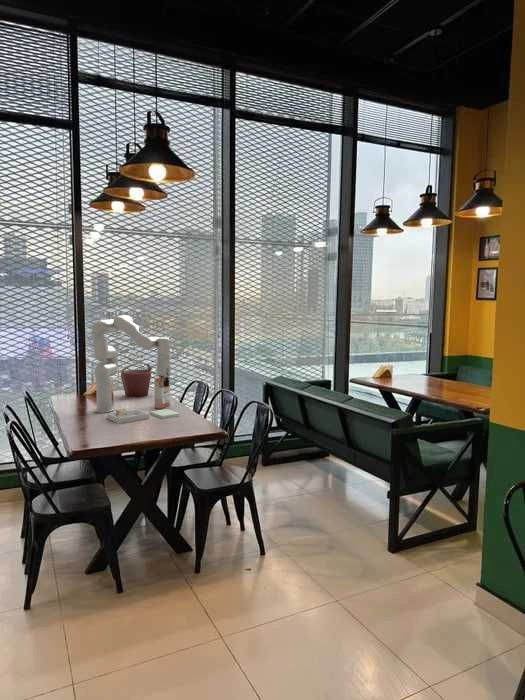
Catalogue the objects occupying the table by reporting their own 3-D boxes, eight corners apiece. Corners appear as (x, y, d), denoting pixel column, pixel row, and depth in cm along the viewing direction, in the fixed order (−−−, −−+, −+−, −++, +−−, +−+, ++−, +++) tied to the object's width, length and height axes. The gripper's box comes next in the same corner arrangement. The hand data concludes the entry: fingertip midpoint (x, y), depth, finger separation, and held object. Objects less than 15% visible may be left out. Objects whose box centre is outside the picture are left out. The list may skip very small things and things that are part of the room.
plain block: (115, 419, 302) (115, 409, 302) (123, 418, 306) (123, 408, 305) (119, 420, 299) (119, 411, 298) (127, 419, 302) (126, 409, 301)
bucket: (151, 392, 393) (150, 360, 390) (156, 397, 373) (156, 364, 370) (119, 394, 383) (118, 362, 380) (123, 399, 363) (122, 365, 360)
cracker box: (162, 409, 333) (162, 378, 331) (154, 408, 334) (153, 377, 332) (170, 404, 346) (170, 375, 344) (162, 404, 348) (162, 374, 345)
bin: (107, 419, 305) (107, 413, 305) (138, 414, 317) (138, 409, 317) (118, 424, 293) (118, 418, 292) (149, 419, 305) (149, 413, 305)
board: (150, 414, 317) (150, 411, 317) (167, 411, 325) (167, 408, 324) (162, 419, 305) (162, 416, 305) (179, 416, 312) (179, 413, 312)
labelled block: (158, 386, 313) (158, 377, 313) (165, 386, 316) (165, 376, 316) (162, 388, 309) (162, 378, 309) (169, 387, 312) (169, 377, 312)
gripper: (152, 356, 315) (152, 384, 317) (164, 359, 302) (165, 388, 304) (162, 355, 320) (163, 383, 322) (175, 358, 307) (176, 387, 308)
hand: (164, 385), depth 313 cm, fingers closed on labelled block, 5 cm apart
